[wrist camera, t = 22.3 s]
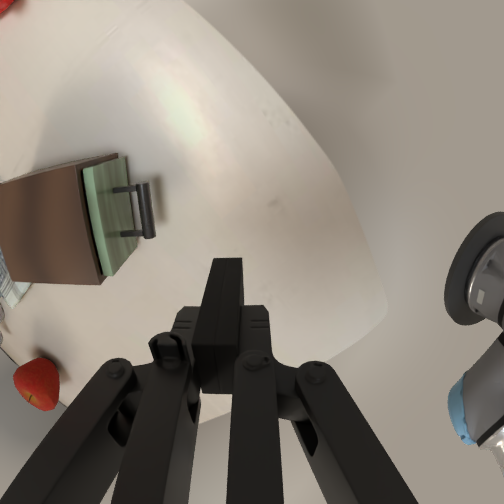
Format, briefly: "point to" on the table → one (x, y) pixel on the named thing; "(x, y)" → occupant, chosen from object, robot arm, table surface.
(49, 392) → the apple
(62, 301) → the table surface
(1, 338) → the mug
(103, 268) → the drawer
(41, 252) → the cabinet
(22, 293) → the dish towel
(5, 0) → the teapot
